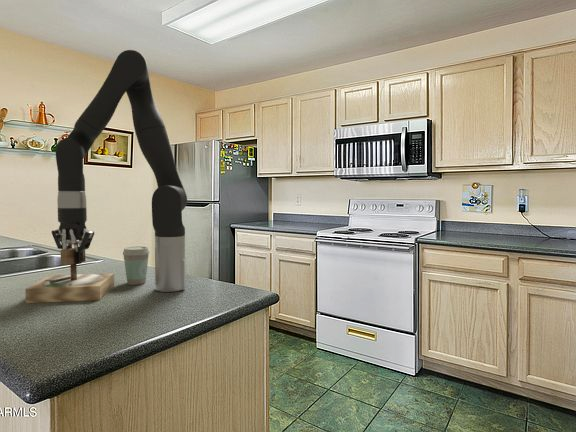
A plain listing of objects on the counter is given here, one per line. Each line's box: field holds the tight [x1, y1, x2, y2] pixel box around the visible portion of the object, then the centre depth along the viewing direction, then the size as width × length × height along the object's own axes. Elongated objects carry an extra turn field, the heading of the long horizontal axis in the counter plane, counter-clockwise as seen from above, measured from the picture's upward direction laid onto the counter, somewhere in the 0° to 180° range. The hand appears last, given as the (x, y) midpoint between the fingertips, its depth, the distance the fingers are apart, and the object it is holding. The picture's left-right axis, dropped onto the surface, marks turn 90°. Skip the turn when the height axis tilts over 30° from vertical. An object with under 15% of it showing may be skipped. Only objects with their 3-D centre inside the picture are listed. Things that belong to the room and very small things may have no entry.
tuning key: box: [49, 247, 86, 283], centre depth 111 cm, size 11×2×9 cm, turn 160°
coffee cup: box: [122, 246, 150, 286], centre depth 127 cm, size 8×8×12 cm
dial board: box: [25, 273, 115, 304], centre depth 114 cm, size 19×17×4 cm
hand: (73, 263), depth 113 cm, fingers closed on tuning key, 2 cm apart
